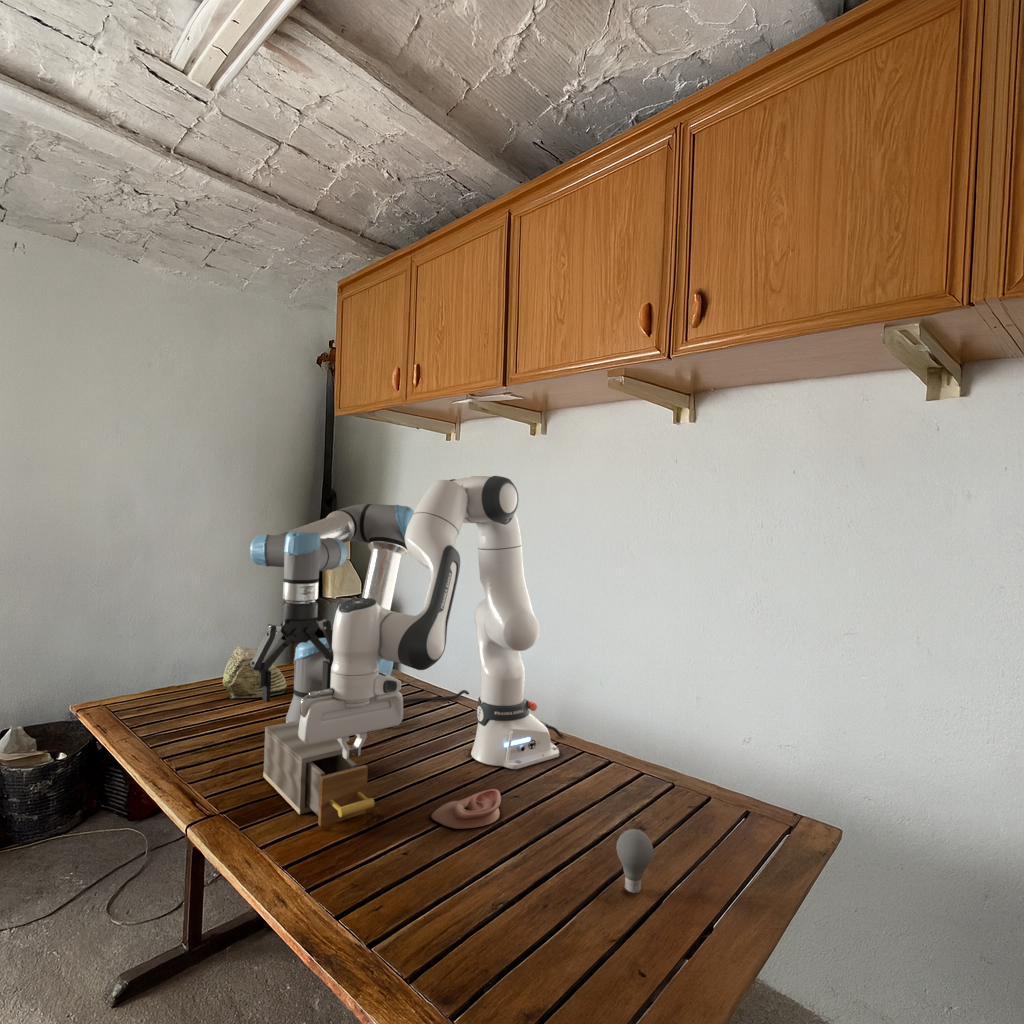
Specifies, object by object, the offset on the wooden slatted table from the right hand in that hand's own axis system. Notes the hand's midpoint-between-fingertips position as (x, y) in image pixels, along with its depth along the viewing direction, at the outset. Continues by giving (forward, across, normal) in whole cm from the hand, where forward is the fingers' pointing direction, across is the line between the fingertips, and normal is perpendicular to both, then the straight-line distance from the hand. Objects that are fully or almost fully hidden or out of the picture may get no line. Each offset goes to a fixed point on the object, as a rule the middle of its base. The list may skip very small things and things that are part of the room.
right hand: (351, 756), depth 121 cm
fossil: (+14, +12, +91) cm, 92 cm away
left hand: (-4, 0, +28) cm, 28 cm away
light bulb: (+14, +29, -45) cm, 56 cm away
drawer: (+13, 0, +9) cm, 16 cm away
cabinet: (+14, 0, +21) cm, 26 cm away
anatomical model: (+14, +22, -9) cm, 27 cm away
